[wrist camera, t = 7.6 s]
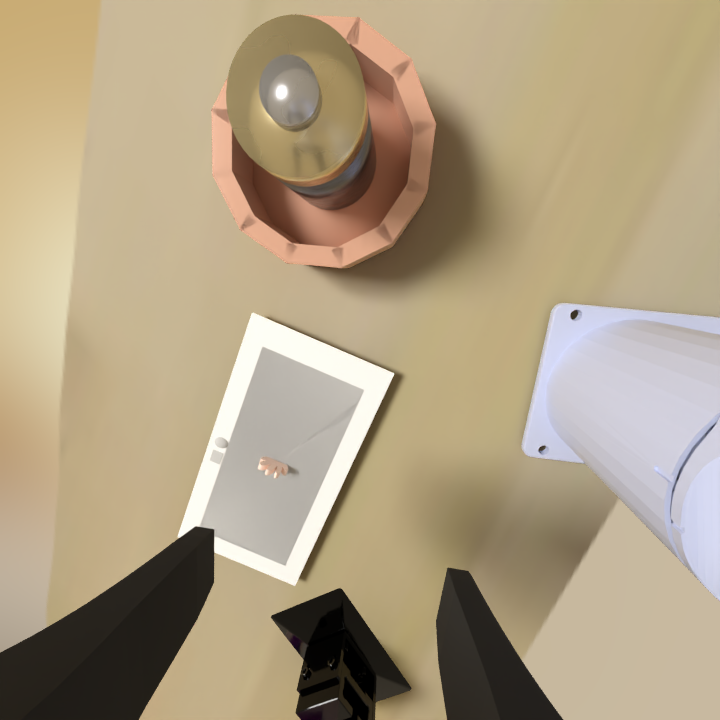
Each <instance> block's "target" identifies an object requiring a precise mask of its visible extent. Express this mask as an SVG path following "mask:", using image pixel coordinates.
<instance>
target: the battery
mask: <svg viewBox="0 0 720 720" xmlns="http://www.w3.org/2000/svg"><path fill="white" fill-rule="evenodd" d="M226 104H227V112H228V117H229V121H230V124H231V127H232V130H233V132H234V134H235V136H236V138H237V140H238V142H239V144H240V145H241V147H242V148H243V150H244V151H245V152H246V153H247V154H248V156H249V157H250V158H251V159H252V160H254V161H255V162H256V163H257V164H258V165H260V166H261V167H262V168H263V169H265V170H266V171H267V172H269V173H270V174H271V175H273V176H274V177H275V178H277V179H278V180H279V181H280V182H282V183H283V184H284V185H286V186H287V187H288V188H290V189H291V190H292V191H294V192H295V193H296V194H297V195H299V196H300V197H301V198H303V199H304V200H305V201H307V202H308V203H310V204H311V205H313V206H315V207H318V208H320V209H325V210H338V209H343V208H346V207H348V206H350V205H352V204H354V203H355V202H357V201H358V200H359V199H360V198H361V197H362V196H363V195H364V194H365V193H366V191H367V190H368V188H369V187H370V185H371V183H372V181H373V178H374V175H375V170H376V161H377V160H376V150H375V144H374V138H373V132H372V126H371V121H370V115H369V109H368V103H367V97H366V92H365V86H364V80H363V75H362V71H361V68H360V65H359V62H358V60H357V58H356V55H355V54H354V52H353V50H352V48H351V47H350V45H349V44H348V43H347V41H346V40H345V39H344V37H343V36H342V35H341V34H340V33H339V32H338V31H336V30H335V29H334V28H332V27H331V26H330V25H328V24H327V23H325V22H323V21H321V20H319V19H316V18H313V17H310V16H305V15H286V16H281V17H277V18H274V19H272V20H270V21H267V22H265V23H264V24H262V25H261V26H259V27H258V28H256V29H255V30H254V31H253V32H252V33H251V34H250V35H249V36H248V37H247V38H246V39H245V41H244V42H243V43H242V45H241V46H240V48H239V49H238V51H237V53H236V55H235V57H234V59H233V61H232V64H231V67H230V70H229V75H228V79H227V87H226Z"/></svg>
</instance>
